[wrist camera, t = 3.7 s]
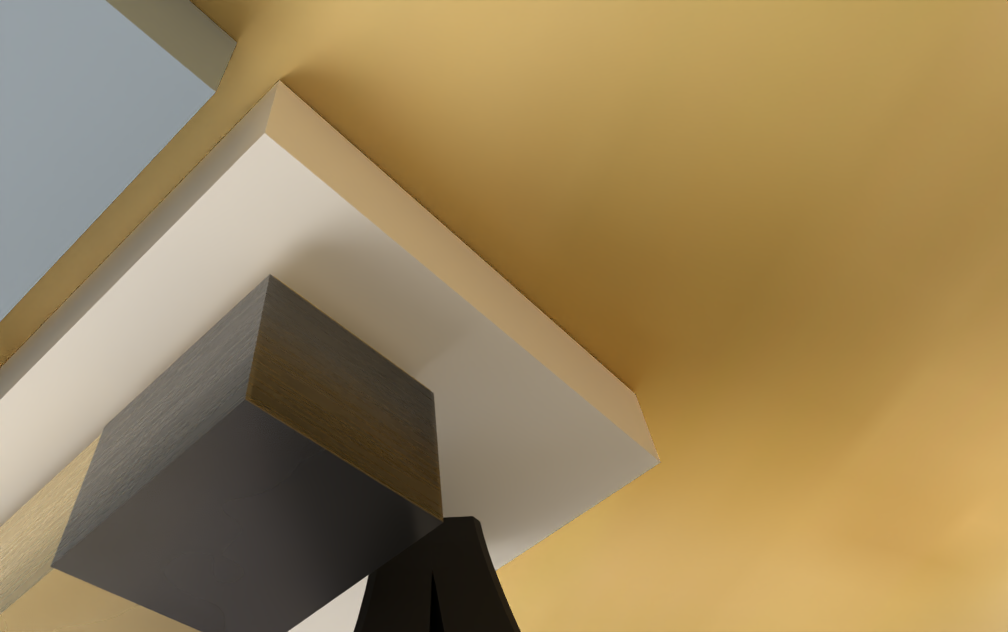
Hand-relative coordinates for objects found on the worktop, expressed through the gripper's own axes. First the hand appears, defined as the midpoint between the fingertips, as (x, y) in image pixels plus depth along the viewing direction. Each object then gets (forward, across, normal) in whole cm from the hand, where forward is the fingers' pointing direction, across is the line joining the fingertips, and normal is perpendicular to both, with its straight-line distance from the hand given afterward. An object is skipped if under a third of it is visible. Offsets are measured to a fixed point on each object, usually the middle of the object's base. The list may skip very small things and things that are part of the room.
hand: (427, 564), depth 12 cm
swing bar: (0, +6, +1) cm, 6 cm away
